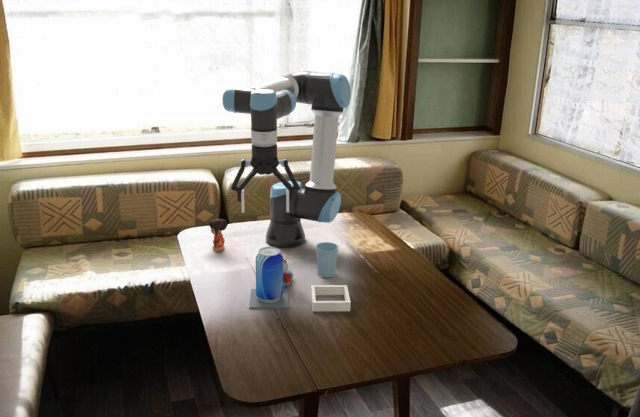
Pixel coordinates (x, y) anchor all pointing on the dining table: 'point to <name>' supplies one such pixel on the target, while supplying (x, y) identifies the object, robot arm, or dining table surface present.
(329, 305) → the pocket
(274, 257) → the beer can
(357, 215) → the dining table surface
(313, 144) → the robot arm
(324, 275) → the cup
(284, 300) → the mat
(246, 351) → the dining table surface
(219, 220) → the figurine
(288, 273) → the toy car
